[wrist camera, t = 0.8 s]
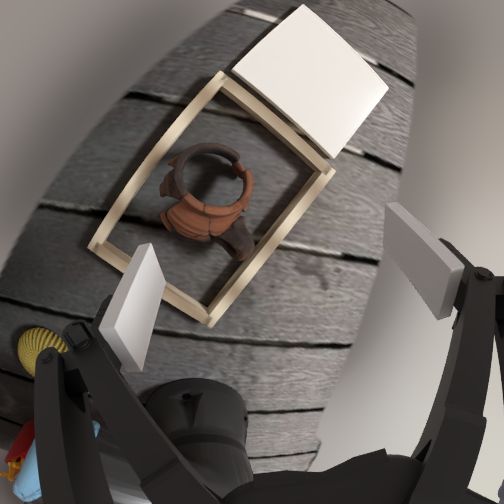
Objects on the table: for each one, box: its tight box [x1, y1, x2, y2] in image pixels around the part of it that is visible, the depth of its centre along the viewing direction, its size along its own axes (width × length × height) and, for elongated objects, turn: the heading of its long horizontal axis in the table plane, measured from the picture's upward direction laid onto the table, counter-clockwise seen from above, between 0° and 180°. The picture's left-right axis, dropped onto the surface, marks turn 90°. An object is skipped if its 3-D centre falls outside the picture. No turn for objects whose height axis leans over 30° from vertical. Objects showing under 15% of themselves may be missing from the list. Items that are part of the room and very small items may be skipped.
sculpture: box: [18, 327, 69, 377], centre depth 30 cm, size 8×4×8 cm
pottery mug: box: [160, 143, 255, 261], centre depth 30 cm, size 12×10×8 cm
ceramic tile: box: [231, 4, 389, 159], centre depth 30 cm, size 13×15×1 cm
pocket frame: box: [87, 71, 336, 328], centre depth 31 cm, size 22×16×2 cm
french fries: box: [0, 418, 35, 482], centre depth 28 cm, size 9×8×15 cm
